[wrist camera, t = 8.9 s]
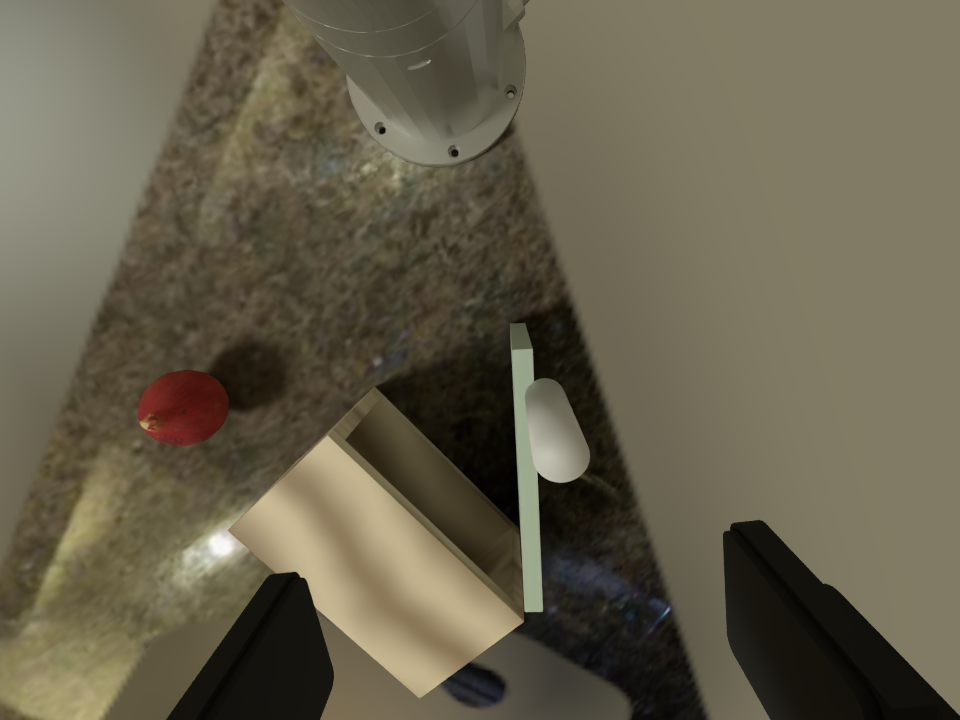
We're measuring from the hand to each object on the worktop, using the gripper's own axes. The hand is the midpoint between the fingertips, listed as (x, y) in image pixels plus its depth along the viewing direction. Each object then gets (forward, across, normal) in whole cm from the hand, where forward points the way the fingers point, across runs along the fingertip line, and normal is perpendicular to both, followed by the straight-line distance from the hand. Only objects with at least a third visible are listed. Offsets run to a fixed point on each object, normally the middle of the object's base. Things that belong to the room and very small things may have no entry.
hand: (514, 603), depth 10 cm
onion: (+28, +25, +1) cm, 38 cm away
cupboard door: (+27, -1, +8) cm, 28 cm away
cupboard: (+27, +10, +12) cm, 32 cm away
